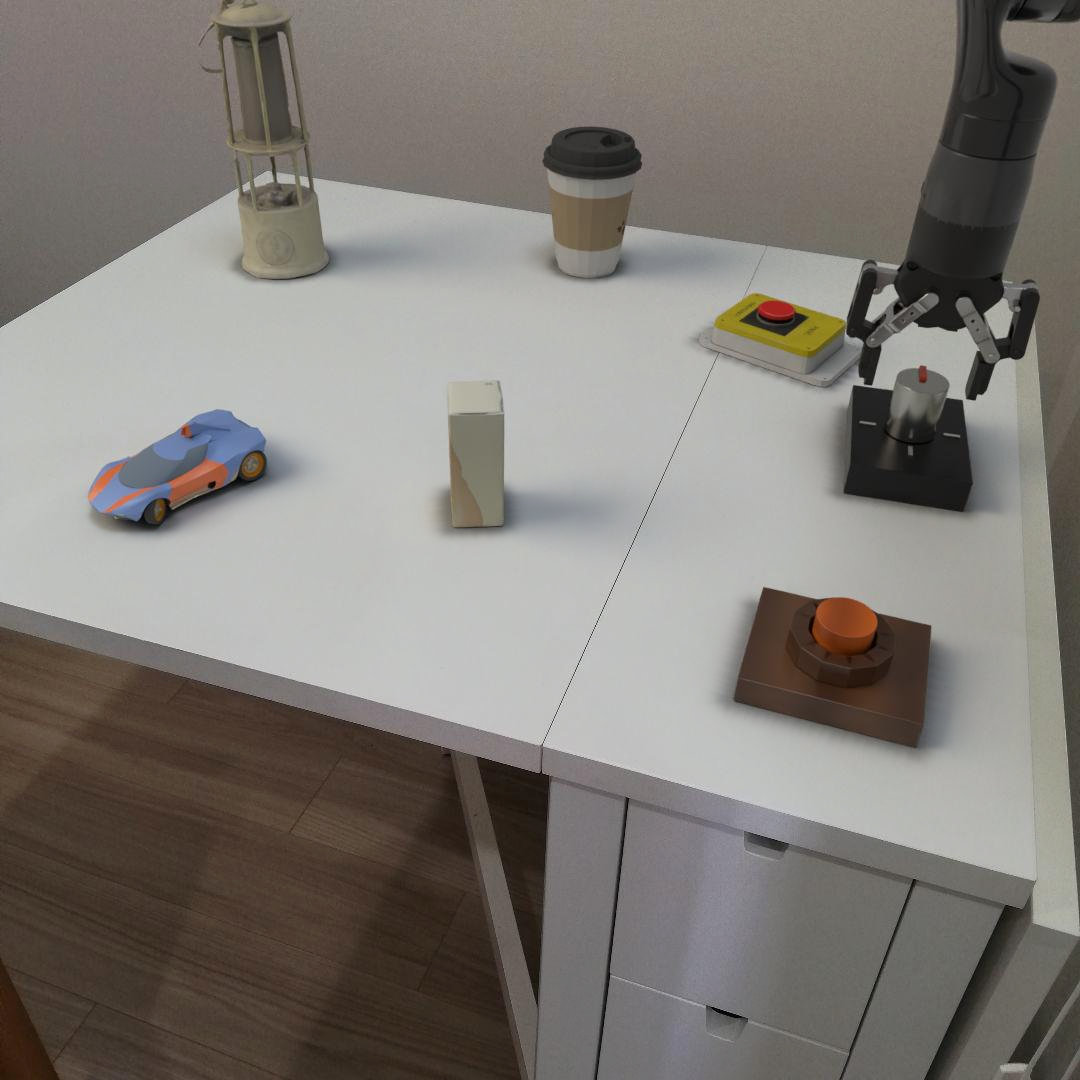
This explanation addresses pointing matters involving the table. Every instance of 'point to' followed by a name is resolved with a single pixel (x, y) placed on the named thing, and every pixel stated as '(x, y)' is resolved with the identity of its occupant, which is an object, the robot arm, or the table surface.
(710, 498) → the table surface
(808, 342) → the emergency button
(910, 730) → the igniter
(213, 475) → the toy car
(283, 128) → the lamp
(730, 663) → the table surface
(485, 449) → the box
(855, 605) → the button
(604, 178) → the coffee cup
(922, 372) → the hob knob
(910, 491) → the panel
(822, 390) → the table surface
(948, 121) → the robot arm
